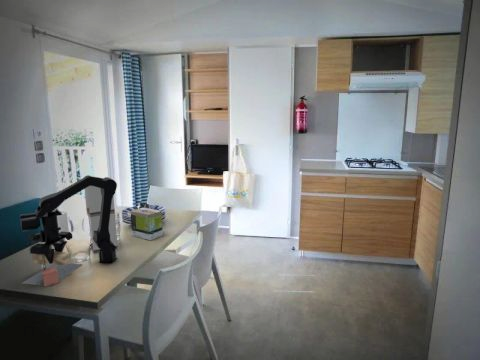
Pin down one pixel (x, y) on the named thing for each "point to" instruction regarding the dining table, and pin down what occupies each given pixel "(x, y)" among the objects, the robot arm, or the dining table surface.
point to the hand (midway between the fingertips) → (54, 261)
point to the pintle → (43, 266)
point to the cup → (63, 221)
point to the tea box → (146, 223)
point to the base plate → (61, 269)
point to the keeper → (50, 276)
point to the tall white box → (93, 212)
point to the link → (58, 258)
